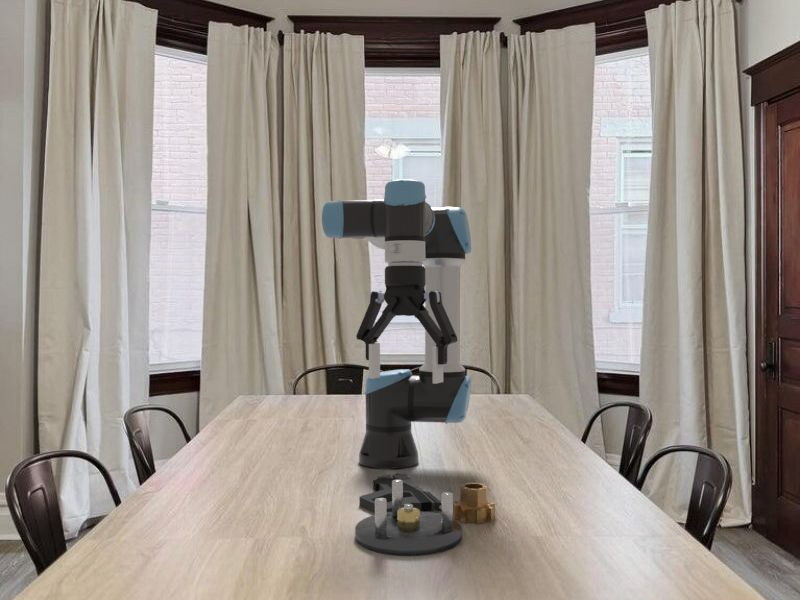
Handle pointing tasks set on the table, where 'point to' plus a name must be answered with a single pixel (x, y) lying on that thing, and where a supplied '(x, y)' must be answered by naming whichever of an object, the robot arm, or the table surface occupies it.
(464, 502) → the planet gear
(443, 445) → the table surface
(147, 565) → the table surface
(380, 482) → the pistol
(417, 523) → the carrier
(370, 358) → the robot arm
